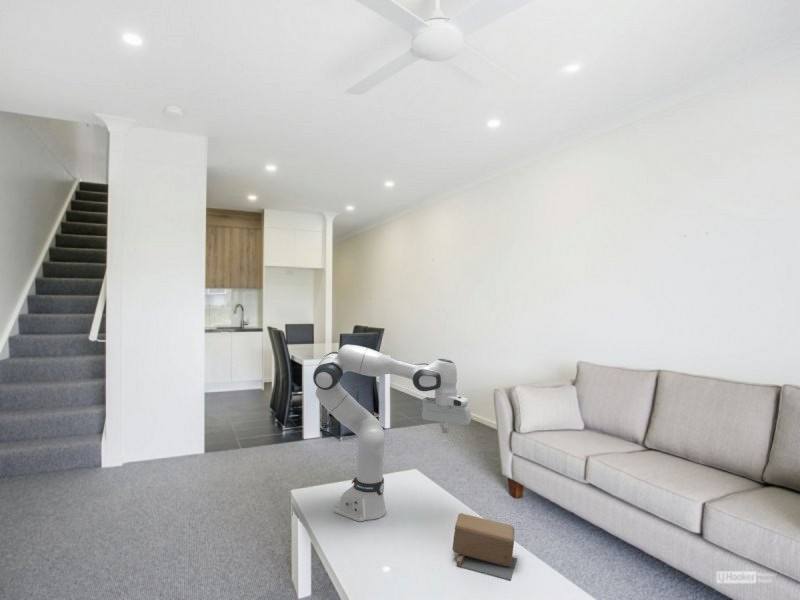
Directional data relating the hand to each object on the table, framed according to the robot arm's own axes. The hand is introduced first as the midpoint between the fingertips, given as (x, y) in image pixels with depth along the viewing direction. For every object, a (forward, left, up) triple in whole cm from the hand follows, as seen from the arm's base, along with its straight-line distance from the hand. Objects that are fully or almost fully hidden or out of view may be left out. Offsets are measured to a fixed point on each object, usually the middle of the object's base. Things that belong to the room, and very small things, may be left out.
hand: (445, 433), depth 175 cm
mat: (+22, -19, -37) cm, 47 cm away
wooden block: (+10, -18, -29) cm, 36 cm away
